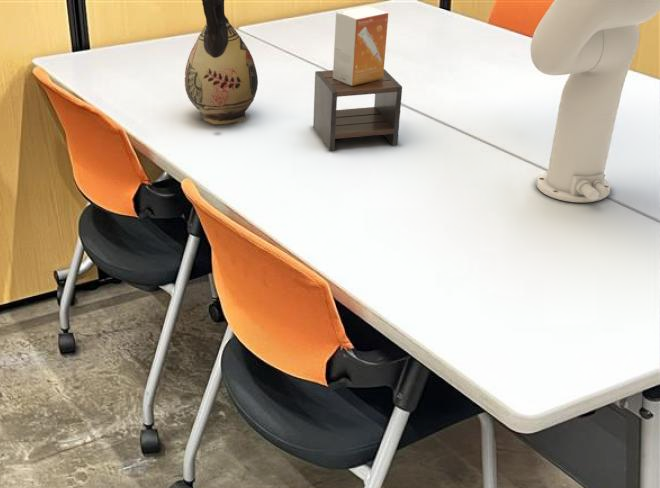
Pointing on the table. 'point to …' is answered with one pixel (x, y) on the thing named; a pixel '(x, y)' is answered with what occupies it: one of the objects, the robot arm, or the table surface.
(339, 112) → the rack
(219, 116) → the ceramic jug
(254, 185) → the table surface
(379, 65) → the small box
